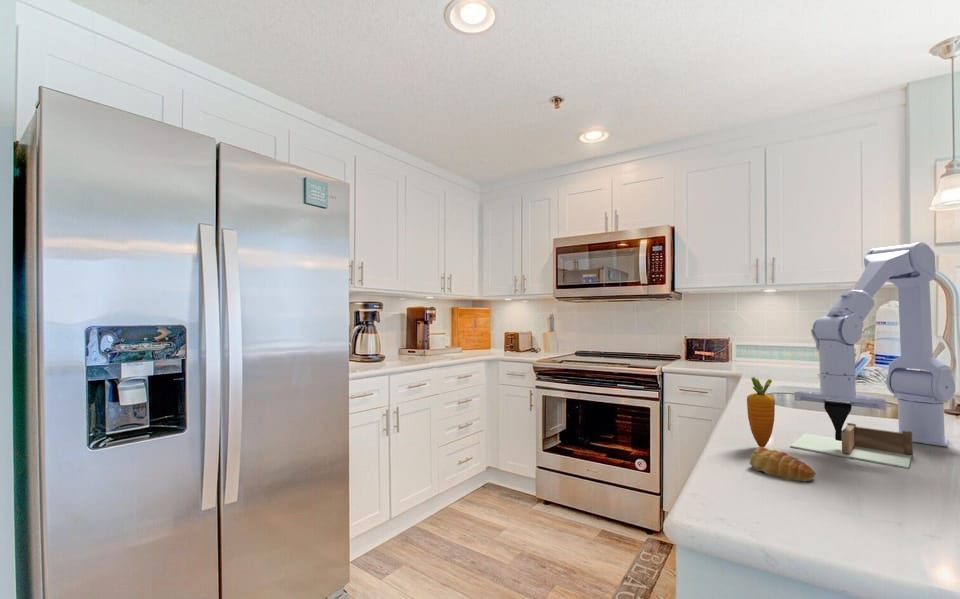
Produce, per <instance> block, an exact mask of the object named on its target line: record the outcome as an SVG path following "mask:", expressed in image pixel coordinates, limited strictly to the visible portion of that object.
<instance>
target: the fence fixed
mask: <svg viewBox="0 0 960 599" xmlns="http://www.w3.org/2000/svg"><path fill="white" fill-rule="evenodd" d="M847 425H851V426H855V428H854V443H855V445H854V446H860V447H866V448H872V449H879V450H885V451H891V452H897V453H903V454H905V455H912V456H913V455H914V453H913V452H914V451H913V450H914V449H913V442H912V432H911V431H902V433H900V432H898V431H894V430H893V431H892V430H884V429H878V428H872V427H871V428H870V427H862V426H856V425H857V424H856V423H854V422H853V423H852V422H847V423H846V426H847Z"/></svg>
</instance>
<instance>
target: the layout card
mask: <svg viewBox="0 0 960 599" xmlns="http://www.w3.org/2000/svg"><path fill="white" fill-rule="evenodd" d="M789 447H790V448H792V449H793V448H794V449H799V450H805V451H810V452H813V453H814V452H815V453H819V454H820V453H821V454H826V455H830V456H831V455H832V456H838V457H842V458H849V459H854V460H860V461H864V462H869V463H876V464H880V465H887V466H890V467H891V466H892V467H895V468H903V469H908V470H909V469H910V465H911V461H912V456H913V455H905V454H903V453H897V452H891V451H885V450H879V449H872V448H866V447H860V446H854V447H853V448H852V450H851V451H850V453H843V452H842V441H838V440H835V437H829V436H824V435H819V434H818V435H817V434H811V433H806V432H805V433H803V434H802V435H801V436H799V438H797V439H796V440H795V441H794V442H793V443H791V445H790V446H789Z"/></svg>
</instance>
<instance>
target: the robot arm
mask: <svg viewBox="0 0 960 599" xmlns="http://www.w3.org/2000/svg"><path fill="white" fill-rule="evenodd" d="M935 255H936V254H935V251H934V250H933V249H932V248H931V246H929V245H928V244H927V243H926V242H924V241H919V242H915V243H909V244H907V243H906V244H900V245H894V246H887V247H873V248H871V249H869V250H868V252H867V253H866V255H865V256H864V258H863V263H864V269H863V271H862V274H861V276H860V277H859V279H858V281H857V282H856V284H855V286H854V288H853V289H850V290H846V291H844V292H842V294H841V295H840V297H838V299H837V301H836V302H835V303H834V304H833V306H832V307H831V309H830V310H829V311H828V313H827V314H826V316H825V315H824V316H821V317H819V318H817V319H816V320H815V321H814V322H813V324H812V328H811V329H810V333H811V336H812V338H813V340H814V342H815V348H816V350H817V351H818V354H819V386H820V387H819V388H820V391H808V390H795V391H794V401H797V402H800V401H802V402H813V403H822V404H824V405H823V408H824V410H825V412H826V414H828V418H830V421H831V422H832V425H833V428H834V431H835V435H834V436H835V437H834V438H835V440H838V441H842V435H841V432H842V430H843V427H844V425H845V422H846V420H847V418H848V417H849V415H850V413H851V411H852V408H853V407H860V408H868V409H877V410H880V411H881V410H882V411H886V410H887V405H886V404H887V403H886V399H885V398H879V397H873V396H865V395H857V393H856V392H857V387H856V360H855V359H856V356H855V344H857V343H858V342H859V341H861V338H862V337H863V328H864V325H865V323H864V320H865V319H866V318H867V317H868V315H869V314H870V312H871V311H872V309H873V308H875V307H874V306H875V300H874V298H873V297H875V295H876V293H878V291H879V290H880V289H881V288H882V287H883V286H884V285H885V284H886V283H890V284H892V285H894V286H895V287H896V288H897V290H898V291H897V295H898V296H897V297H898V316H899V322H898V323H899V337H900V339H899V340H900V341H899V342H900V343H899V344H900V356H899V357H897V358H895V359H893V360H891V361H890V362H889V363H888V371H887V374H886V378H885V385H886V387H887V389H888V391H889V392H890V394H893V398H894V399H895V398H896V399H897V415H898V416H897V418H898V430H897V432H900V433H902V431H911V432H912V443H918V444H919V443H920V444H926V445H933V446H939V447H940V446H941V447H948V446H949V445H948V443H949V442H948V436H947V435H945V415H944V413H945V412H944V411H945V410H944V403H948V402H949V400H951V399H952V398H953V397H954V395H955V393H956V383H955V380H954V378H953V375H952V374H953V373H952V369H951V366H949V365H947V364H946V363H944V362H943V361H941V360H939V359H938V358H936V357H934V354H933V353H934V350H933V332H932V331H933V329H932V307H931V304H932V303H931V285H930V284H931V283H930V282H931V281H933V280H934V279H936V256H935Z"/></svg>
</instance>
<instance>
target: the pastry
mask: <svg viewBox="0 0 960 599" xmlns="http://www.w3.org/2000/svg"><path fill="white" fill-rule="evenodd" d="M749 465H750V466H751V467H752V468H753V469H754V470H755V471H758V472H764V473H765V474H767V475H769V476H772V477H777V478H781V479H785V480H789V481H793V482H795V481H796V482H797V481H800V482H809V481H811V480H814V479H815V475H816V471H815V469H813V468H812V467H811V466H810V465H808V464H807V463H805V462H803V461H802V460H800V459H799V458H796V457H794V456H792V455H790V454H788V453H787V452H785V451H778V450H776V449H771V450H770V449H768V448H766V447H764V448H763V447H760V446H758V447H756V448H755V449H754V450H753V451H752V454H751V455H750V459H749Z"/></svg>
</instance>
